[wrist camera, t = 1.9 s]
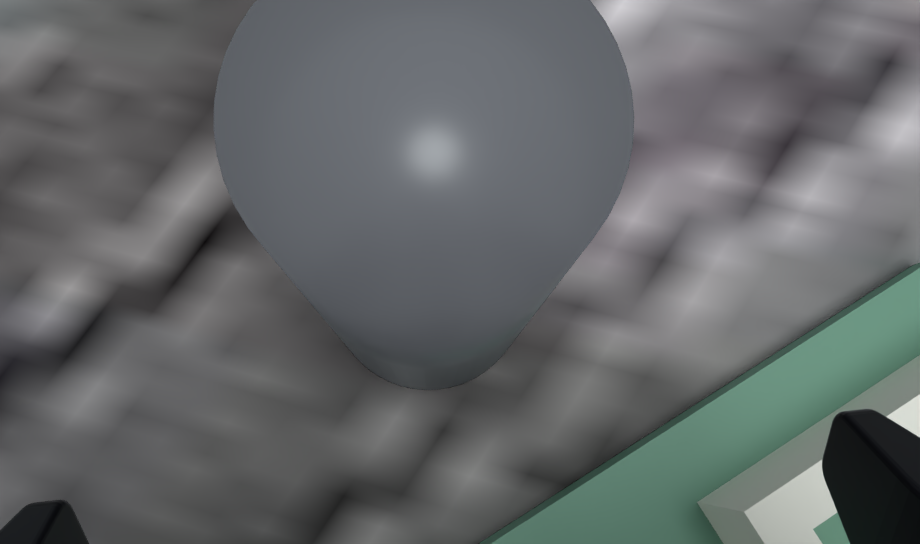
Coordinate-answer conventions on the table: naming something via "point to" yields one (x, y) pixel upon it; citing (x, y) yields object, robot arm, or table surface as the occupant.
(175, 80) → the table surface
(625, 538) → the header board
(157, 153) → the table surface
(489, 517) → the table surface
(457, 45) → the plug
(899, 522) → the robot arm
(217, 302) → the table surface
